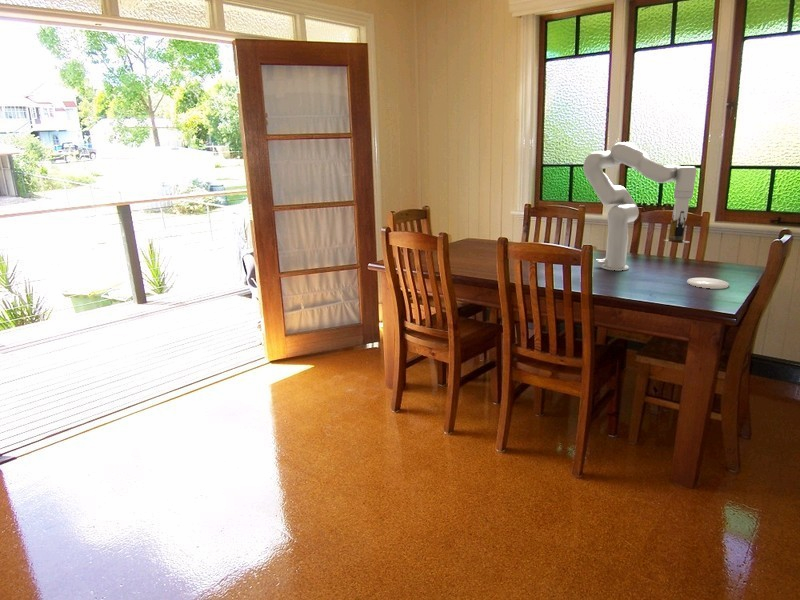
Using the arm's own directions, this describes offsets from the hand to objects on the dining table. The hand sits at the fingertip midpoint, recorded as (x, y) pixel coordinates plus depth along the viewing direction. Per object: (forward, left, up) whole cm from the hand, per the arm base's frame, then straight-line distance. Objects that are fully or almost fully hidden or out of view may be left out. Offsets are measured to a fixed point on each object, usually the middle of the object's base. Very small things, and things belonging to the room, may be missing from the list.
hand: (677, 234), depth 245 cm
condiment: (0, -1, -3) cm, 3 cm away
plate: (+13, -8, -20) cm, 26 cm away
